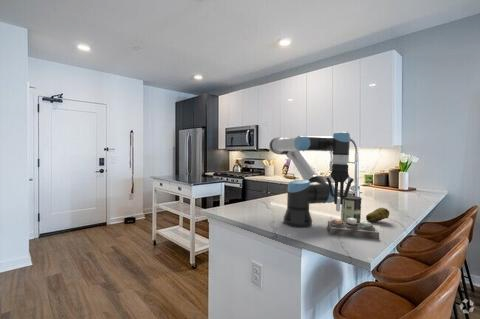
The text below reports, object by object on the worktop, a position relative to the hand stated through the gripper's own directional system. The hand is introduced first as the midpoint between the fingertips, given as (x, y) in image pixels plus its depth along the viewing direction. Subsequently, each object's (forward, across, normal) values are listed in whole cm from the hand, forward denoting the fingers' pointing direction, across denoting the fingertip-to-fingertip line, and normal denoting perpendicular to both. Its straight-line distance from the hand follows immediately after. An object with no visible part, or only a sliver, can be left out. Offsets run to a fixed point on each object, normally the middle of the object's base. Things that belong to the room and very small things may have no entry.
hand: (337, 210), depth 119 cm
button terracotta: (+7, 0, 0) cm, 7 cm away
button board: (+10, +7, 0) cm, 12 cm away
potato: (+10, +25, +24) cm, 36 cm away
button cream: (+5, +7, 0) cm, 9 cm away
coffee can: (+11, +10, +19) cm, 24 cm away
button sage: (+7, +13, 0) cm, 15 cm away
